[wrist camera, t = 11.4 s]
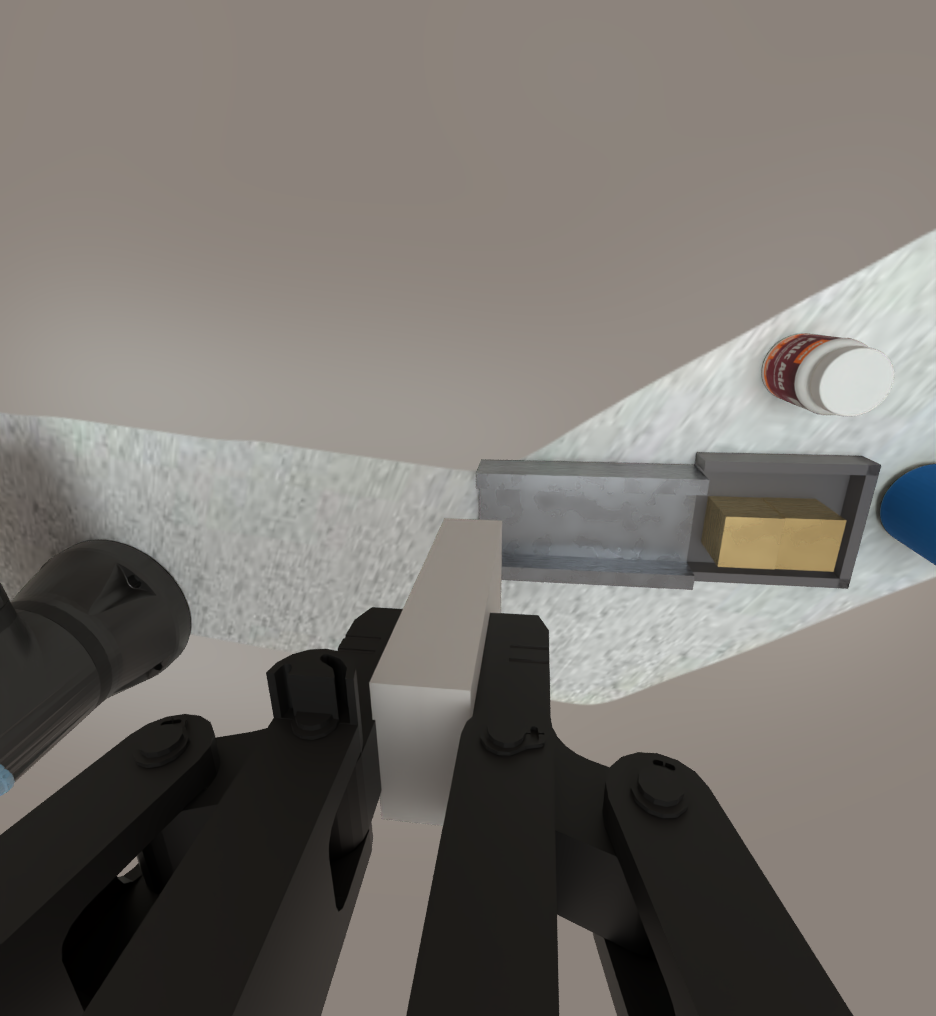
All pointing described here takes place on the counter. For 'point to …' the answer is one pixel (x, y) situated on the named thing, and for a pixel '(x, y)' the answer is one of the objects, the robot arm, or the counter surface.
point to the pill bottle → (828, 374)
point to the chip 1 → (742, 532)
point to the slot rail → (593, 520)
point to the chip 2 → (808, 534)
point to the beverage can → (913, 511)
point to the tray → (787, 476)
